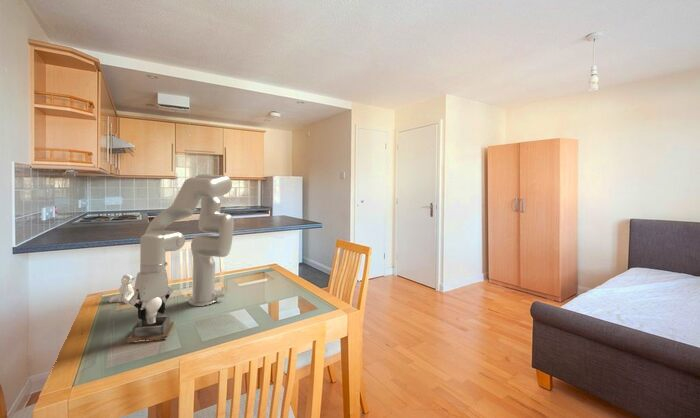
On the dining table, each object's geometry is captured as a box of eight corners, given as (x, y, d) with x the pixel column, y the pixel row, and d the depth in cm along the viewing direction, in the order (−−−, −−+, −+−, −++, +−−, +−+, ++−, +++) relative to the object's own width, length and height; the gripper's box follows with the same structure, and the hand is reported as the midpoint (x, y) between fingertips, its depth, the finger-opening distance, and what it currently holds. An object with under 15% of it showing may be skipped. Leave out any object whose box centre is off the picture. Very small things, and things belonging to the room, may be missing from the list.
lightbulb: (151, 328, 111) (152, 298, 110) (136, 326, 112) (137, 296, 111) (165, 321, 117) (166, 292, 116) (151, 319, 118) (151, 290, 117)
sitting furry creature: (107, 302, 140) (107, 276, 139) (122, 296, 149) (122, 271, 148) (127, 304, 140) (127, 278, 139) (141, 297, 148) (141, 272, 147)
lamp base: (173, 325, 122) (173, 314, 122) (166, 339, 111) (166, 327, 111) (138, 327, 118) (138, 316, 118) (126, 343, 107) (126, 330, 107)
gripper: (168, 261, 122) (167, 306, 124) (120, 271, 107) (119, 322, 108) (181, 264, 119) (180, 310, 120) (133, 274, 104) (132, 327, 105)
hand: (151, 315), depth 114 cm, fingers closed on lightbulb, 6 cm apart
